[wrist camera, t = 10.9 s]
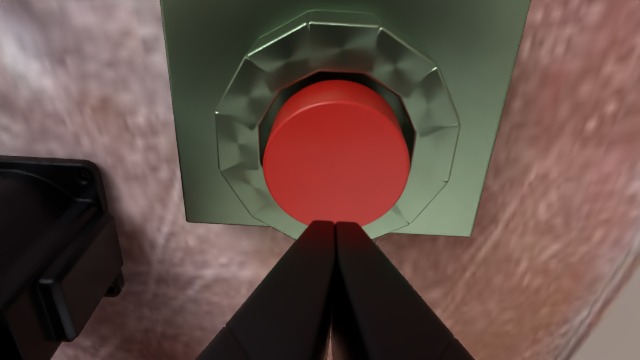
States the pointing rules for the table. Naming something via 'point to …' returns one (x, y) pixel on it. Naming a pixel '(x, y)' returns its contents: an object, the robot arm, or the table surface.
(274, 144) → the button
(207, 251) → the table surface
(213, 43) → the button box
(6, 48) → the table surface
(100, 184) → the robot arm
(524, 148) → the table surface
